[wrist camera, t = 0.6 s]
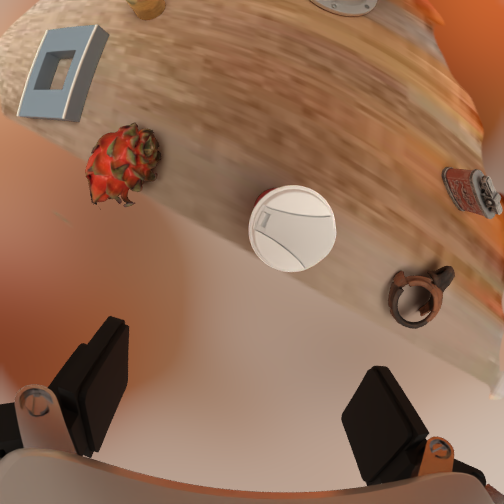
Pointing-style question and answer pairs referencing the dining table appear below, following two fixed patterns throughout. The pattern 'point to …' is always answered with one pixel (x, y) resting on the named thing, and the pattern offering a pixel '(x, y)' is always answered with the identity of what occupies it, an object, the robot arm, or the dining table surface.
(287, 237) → the paper cup
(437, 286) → the pottery mug
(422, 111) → the dining table surface
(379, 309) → the dining table surface
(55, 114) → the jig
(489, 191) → the lighter
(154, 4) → the brass flanged cylinder
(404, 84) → the dining table surface
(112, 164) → the dragon fruit
